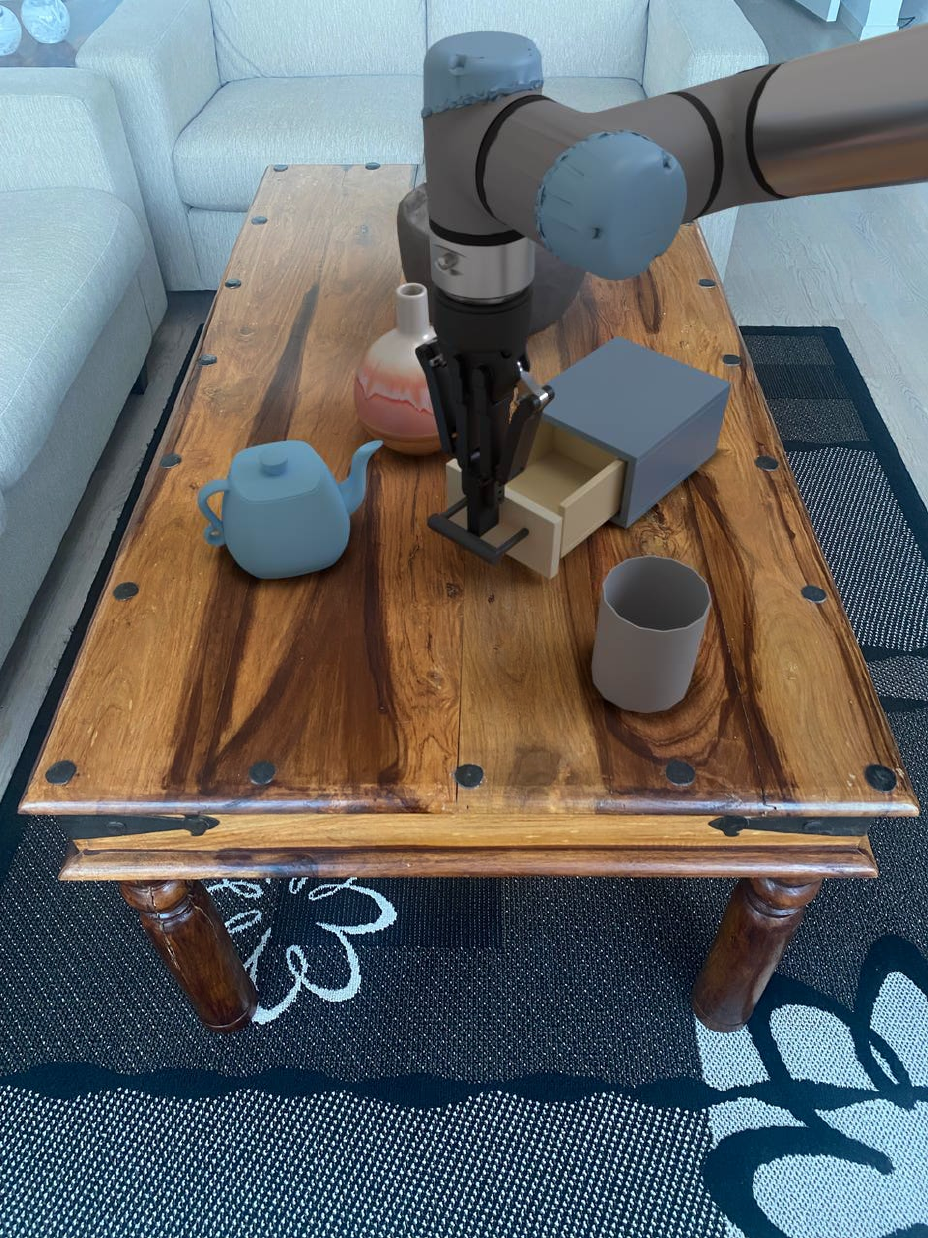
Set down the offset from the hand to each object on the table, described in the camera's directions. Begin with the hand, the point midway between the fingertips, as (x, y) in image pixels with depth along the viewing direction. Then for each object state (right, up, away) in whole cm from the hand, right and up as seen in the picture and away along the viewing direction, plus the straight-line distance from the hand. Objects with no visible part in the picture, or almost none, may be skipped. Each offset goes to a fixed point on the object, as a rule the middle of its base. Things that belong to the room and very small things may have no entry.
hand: (483, 527), depth 84 cm
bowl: (+2, +31, +36) cm, 47 cm away
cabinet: (+15, +9, +15) cm, 23 cm away
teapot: (-18, -1, +7) cm, 19 cm away
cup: (+13, -13, -5) cm, 20 cm away
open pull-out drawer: (+5, +1, +7) cm, 9 cm away
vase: (-7, +12, +19) cm, 23 cm away
